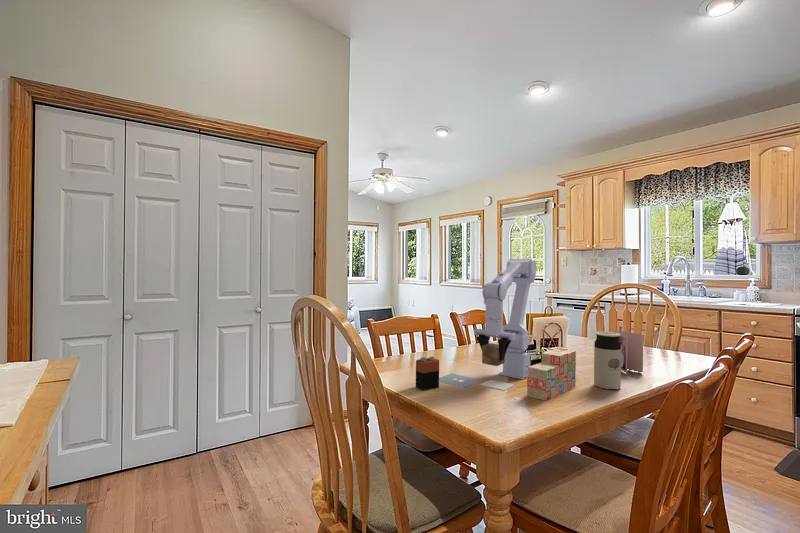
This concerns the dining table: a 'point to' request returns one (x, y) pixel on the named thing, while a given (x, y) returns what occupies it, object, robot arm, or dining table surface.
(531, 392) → the stack of blocks
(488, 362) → the walnut block
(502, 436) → the dining table surface
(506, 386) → the rubber mat
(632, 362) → the greeting card
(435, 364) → the battery
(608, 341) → the travel mug
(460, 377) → the blue-gray square plate
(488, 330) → the robot arm
